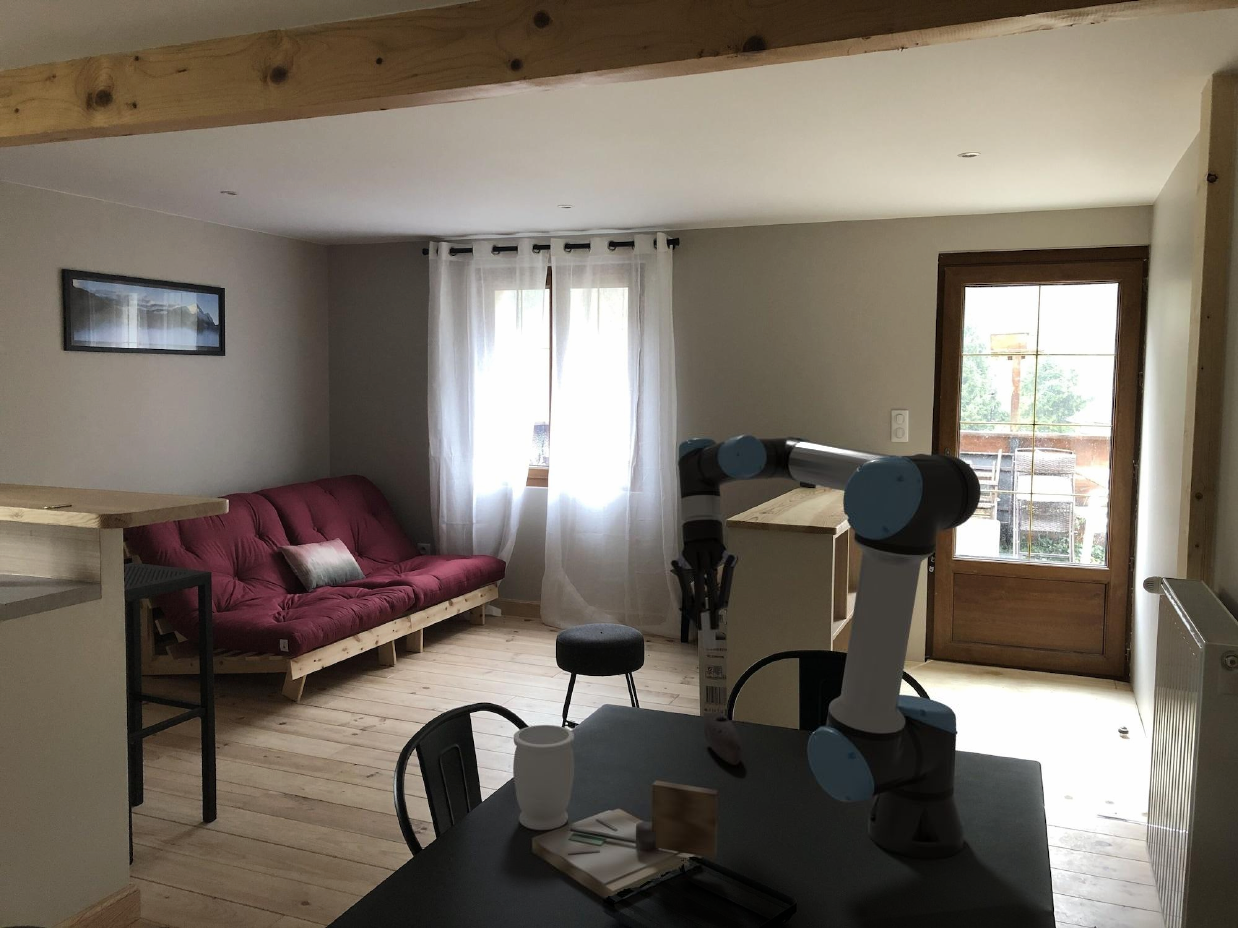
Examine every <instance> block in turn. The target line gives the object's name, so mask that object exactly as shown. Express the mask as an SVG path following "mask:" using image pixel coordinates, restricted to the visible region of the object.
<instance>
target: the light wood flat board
mask: <svg viewBox="0 0 1238 928" xmlns="http://www.w3.org/2000/svg"><path fill="white" fill-rule="evenodd" d="M640 822H644V821H643V820H641V819H639V818H637V817H635V816H633V815H632V814H630V813H628V812H626V811H624V810H623V809H620V808H616V809H612V810H610V809H609V810H605V811H603V812H599V813H598V814H594V815H593V816H592V815H591V816H589V817H587V818H584V819H581V820H579V821H575V822H573V823H569V824H568V825H565V826H561V827H558V828H555V829H552V830H549V831H547V832H545V833H542V834H540V835H536V836H534V837H532V838H531V841H532V842H531V846H532V847H531V848H532V850H531V851H532V853H533V854H534V855H536V856H538V857H539V858H540V859H543V860H544V861H545V862H547V863H549V864H550V865H552V866H553V867H555V868H556V869H558V870H559V871H561V872H562V873H564V874H565V875H567V876H569V877H570V878H572V879H574V880H575V881H576V882H577V883H580V884H581V885H582V886H584V887H586V888H587V889H589V890H590V891H592V892H594V893H595V894H596V895H598V896H600V897H601V898H603V899H604V900H606V899H605V898H607V897H608V896H613V895H615V894H617V893H618V892H620V891H623V890H624V889H628V888H635V887H640V886H641V885H643V884H644V883H646V882H647V881H651V879H653V878H654V879H655V878H660V877H661V875H662V874H663V875H664V874H665V873H666V872H668V871H672V870H675V869H678V868H679V867H680V868H681V866H682V865H683V864H684V865H686V866H689V864H690V863H689V862H688V861H687V860H689V859H690V858H689V857H698V858H703V856H698V855H693V854H687V853H682V852H677V851H671V850H666V849H660V848H657V849H655V850H652V851H643V850H640V849H638V848H637V847H636V844H635V843H630V842H625V841H619V840H614V839H608V838H603V837H598V836H592V835H587V834H581V833H576V832H571V831H570V828H571V827H572V828H578V829H583V830H589V831H594V832H599V833H605V834H610V835H616V836H621V837H627V838H632V839H636V825H637V824H638V823H640ZM685 858H686V859H685ZM683 859H684V861H681V860H683Z"/></svg>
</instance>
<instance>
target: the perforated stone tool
mask: <svg viewBox="0 0 1238 928" xmlns="http://www.w3.org/2000/svg"><path fill="white" fill-rule="evenodd" d="M703 726H704V729H703V730H704V732H703V733H704V737H705V739H706V741H707V743H708V745H709V748H711V750H712V751H713V752H714V753H715V754H716V755H717V756H718V757H719V758H721V759H722V760H723V761H724V762H726V763H727V764H728V765H729V764H730V765H732V766H736V765H739V763H740V762H741V760H742V755H743V746H742V745H743V744H742V740H741V738H740V736H739V733H738V731H737V729H736V727H735V725H734V724H733V723H732V721H731V720H729V719H728V717H726V716H725V715H724V714H723V713H720V712H712V713H709V714H708V715H707V717H706V718H705V722H704V725H703Z"/></svg>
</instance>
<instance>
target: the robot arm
mask: <svg viewBox="0 0 1238 928" xmlns="http://www.w3.org/2000/svg"><path fill="white" fill-rule="evenodd" d="M677 461H678V462H677V466H678V475H679V487H680V489H679V490H680V502H681V503H680V509H681V520H682V521H683V524H682V526H681V527H682V542H683V548H682V551H681V555H680V556H679V557H677V558H676V559H673V560H671V561H670V565H671V567H672V568H673V569H674V571H675V573H676V576H677V580H678V582H679V586H680V590H681V593H682V597H683V600H684V604H685V609H687V610H690V611H692V612H695V615H696V628H697V630H698V631H701V636H702V637H701V638H702V649H703V650H712V649H717V642H716V639H717V638H716V631H717V630H719V629H720V611H721V610H723V609H727V608H728V607H729V602H730V596H731V589H732V583H733V576H734V570H735V567H736V565H737V564H738V561H739V556H738V555H734V554H732V553H730V552H728V551H727V547H726V546H725V544H724V528H723V522H722V521H721V520H720V519H721V518H722V517H723V516H722V514H723V513H722V501H721V487H720V486H723V485H725V484H729V483H732V482H733V483H734V482H738V481H751V480H767V479H786V480H789V481H791V480H792V481H796V482H801V483H807V484H810V485H815V486H820V487H824V488H829V489H834V490H839V491H843V498H842V504H843V505H842V506H843V512H844V515H846V516H847V517H848V518H846V521H847V524H848V525H849V527H850V528H851V529H852V530H853V532H854V537H853V541H854V543H856V545H857V546H858V547H859V548H860V550H861V559H860V566H859V572H858V580H857V584H856V585H857V586H856V592H855V598H854V599H855V600H854V605H853V613H852V618H851V626H850V633H849V638H848V646H847V652H846V659H845V665H844V672H843V678H842V684H841V690H840V691H841V692H840V693H841V694H840V695H839V696H838V697H836V698H834V699H833V700H831V702H830V703H829V706H828V712H827V717H826V718H827V719H826V723H825V725H824V726H823V725H821V726H819V727H818V728H817V729H816V730H814V732H812V733H811V735H810V736H809V739H808V742H807V750H806V751H807V759H808V763H809V767H810V769H811V772H812V773H813V775H814V777H815V779H816V782H818V784H819V785H820V786H821V788H822V789H823V790H824V791H825V792H826V793H827V794H828V795H830V797H832V798H834V799H835V800H838V801H840V802H844V803H852V802H853V803H854V802H858V801H868V800H869V799H871V798H872V797H874V796H876V797H875V799H874V801H873V804H872V807H871V809H870V812H869V815H868V819H867V820H868V821H867V833H868V836H869V837H870V838H871V840H872V841H873V842H874V843H876V844H877V845H879V846H880V847H882V848H884V849H886V850H888V851H891V852H893V853H895V854H899V855H903V856H906V857H911V858H919V859H943V858H947V857H951V856H954V855H955V854H957V853H959V852H960V851H961V850H962V848H963V847H964V836H965V835H964V828H963V824H962V821H961V817H960V814H959V810H958V808H957V807H958V806H957V803H956V801H955V796H954V795H955V792H954V791H955V774H956V773H955V771H956V770H955V769H956V748H957V735H958V730H957V717H956V713H955V712H954V710H953V709H952V708H951V707H949V706H948V705H946V704H944V703H942V702H940V701H936V700H934V699H930V698H926V697H922V696H916V695H909V694H901V687H902V681H903V676H904V670H905V663H906V657H907V651H908V644H909V638H910V634H911V633H910V632H911V626H912V620H913V614H914V609H915V608H914V606H915V603H916V602H915V601H916V596H917V589H918V584H919V577H920V571H921V564H922V562H923V561H924V560H926V559H927V558H929V557H931V556H932V555H933V554H934V552H935V545H936V541H937V535H938V534H937V533H938V532H941V531H942V532H943V531H946V530H947V531H948V530H951V529H952V530H953V529H955V528H957V527H959V526H962V525H963V524H964V523H966V522H968V521H969V519H970V518H971V517H972V516H973V515H974V513H975V512H976V511H977V509H978V506H979V504H980V500H981V494H982V492H981V484H980V480H979V478H978V476H977V474H976V472H975V471H974V469H973V468H972V467H971V465H970V464H968V463H967V462H966V461H964V460H962V459H961V458H959V457H956V456H953V455H950V454H943V453H942V454H939V453H938V454H926V453H915V454H913V455H894V454H893V455H892V454H885V453H879V452H873V451H868V450H861V449H856V448H855V449H854V448H850V447H842V446H837V445H829V444H825V443H818V442H814V441H813V442H812V441H810V439H807V438H805V437H796V436H787V437H781V438H780V437H779V438H756V437H755V436H753V435H752V434H743V435H742V434H741V435H739V436H738V435H735V436H732V437H730V438H728V439H726V440H723V441H721V442H718V443H717V442H716V440H714V439H712V438H708V437H707V438H706V437H699V438H698V437H697V438H692V439H686V440H684V441H682V442H681V443H680V444H679V447H678V460H677ZM722 560H723V561H722ZM721 562H723V563H724V564H723V566H722V571H721V578H720V584H718V583H719V582H718V574H719V570H718V569H719V568H718V567H719V566H720V564H721ZM687 564H688V566H690V567H689V568H691V572H692V573H691V574H692V577H693V586H692V584H691V583H692V582H691V580H690V576H689V574H688V570H687V568H686V567H687ZM705 578H706V582H705ZM705 583H706V584H705ZM718 585H719V586H718ZM706 592H707V593H706ZM706 594H707V600H706Z"/></svg>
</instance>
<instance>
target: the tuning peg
mask: <svg viewBox="0 0 1238 928" xmlns="http://www.w3.org/2000/svg"><path fill="white" fill-rule="evenodd" d="M651 789H652V793H651V795H652V796H651V797H652V802H651V804H652V805H651V808H652V809H651V810H652V811H651V821H643V822H640V823H638V824H637V825H636V839H632V838H627V837H621V836H616V835H610V834H605V833H599V832H594V831H589V830H583V829H578V828H572V827H571V828H570V831H571V832H576V833H581V834H587V835H592V836H598V837H603V838H608V839H614V840H619V841H625V842H630V843H635V844H636V847H637V848H638V849H640V850H643V851H652V850H655V849H657V848H660V849H666V850H671V851H677V852H682V853H687V854H693V855H698V856H702V858H703V857H705V858H709V859H716V857H717V855H718V821H719V819H718V818H719V816H718V815H719V790H718V789H711V788H706V787H698V786H692V785H687V784H680V783H674V782H669V781H661V780H655V781H653V783H652V788H651Z"/></svg>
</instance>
